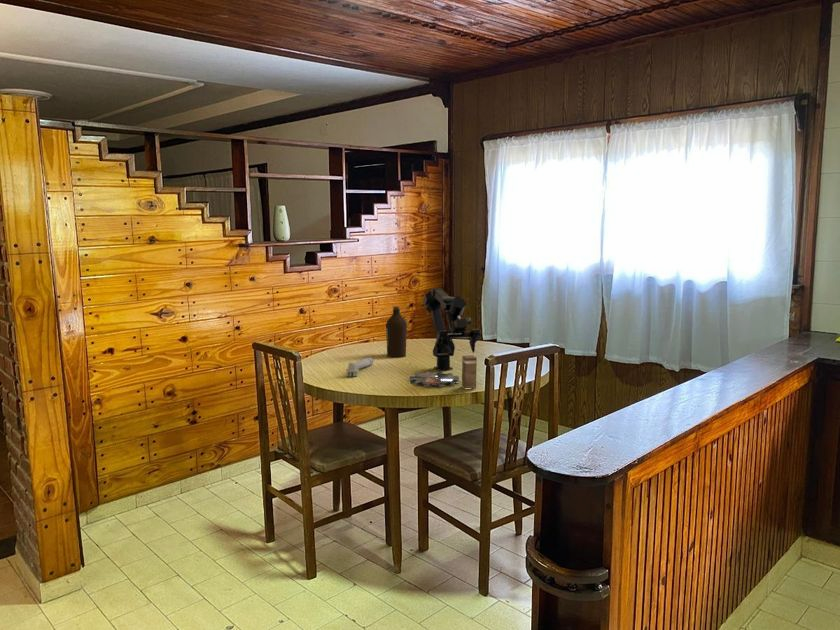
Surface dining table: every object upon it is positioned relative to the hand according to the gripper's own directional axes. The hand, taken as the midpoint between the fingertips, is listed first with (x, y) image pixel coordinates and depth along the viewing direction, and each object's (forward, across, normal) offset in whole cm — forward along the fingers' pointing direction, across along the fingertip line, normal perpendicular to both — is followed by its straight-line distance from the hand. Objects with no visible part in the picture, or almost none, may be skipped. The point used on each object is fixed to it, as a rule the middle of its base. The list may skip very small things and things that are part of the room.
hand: (463, 352), depth 259 cm
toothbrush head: (-14, -38, +33) cm, 52 cm away
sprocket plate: (+5, -11, +14) cm, 18 cm away
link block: (+14, 0, +4) cm, 15 cm away
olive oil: (-32, -14, +51) cm, 62 cm away
